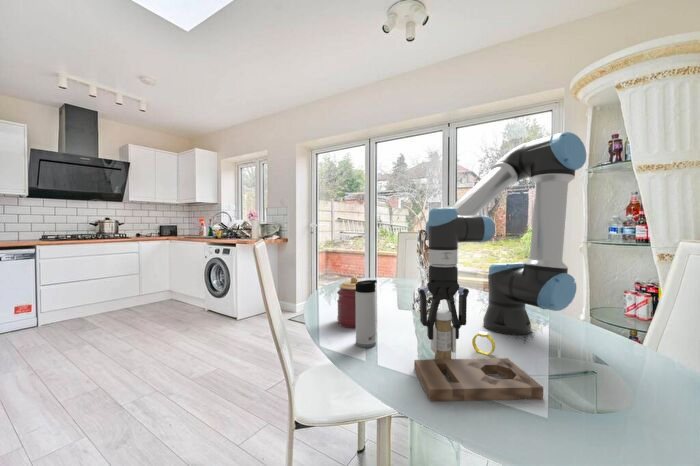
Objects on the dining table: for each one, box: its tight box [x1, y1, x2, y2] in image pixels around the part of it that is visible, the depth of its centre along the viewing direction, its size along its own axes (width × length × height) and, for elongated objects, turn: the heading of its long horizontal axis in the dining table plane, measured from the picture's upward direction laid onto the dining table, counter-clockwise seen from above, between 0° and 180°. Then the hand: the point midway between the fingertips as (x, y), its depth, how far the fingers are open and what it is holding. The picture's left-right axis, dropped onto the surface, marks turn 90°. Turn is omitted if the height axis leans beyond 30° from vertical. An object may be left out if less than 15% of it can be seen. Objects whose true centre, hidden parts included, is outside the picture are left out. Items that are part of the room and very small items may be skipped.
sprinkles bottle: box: [434, 309, 453, 359], centre depth 82 cm, size 5×5×14 cm
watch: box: [471, 331, 496, 356], centre depth 87 cm, size 6×3×6 cm, turn 45°
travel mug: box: [355, 279, 378, 349], centre depth 94 cm, size 6×7×20 cm
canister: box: [336, 276, 361, 329], centre depth 115 cm, size 13×13×18 cm
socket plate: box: [413, 357, 544, 402], centre depth 71 cm, size 24×14×2 cm, turn 91°
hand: (443, 350), depth 82 cm, fingers closed on sprinkles bottle, 4 cm apart
